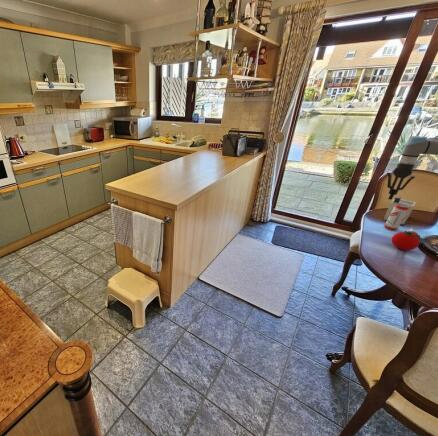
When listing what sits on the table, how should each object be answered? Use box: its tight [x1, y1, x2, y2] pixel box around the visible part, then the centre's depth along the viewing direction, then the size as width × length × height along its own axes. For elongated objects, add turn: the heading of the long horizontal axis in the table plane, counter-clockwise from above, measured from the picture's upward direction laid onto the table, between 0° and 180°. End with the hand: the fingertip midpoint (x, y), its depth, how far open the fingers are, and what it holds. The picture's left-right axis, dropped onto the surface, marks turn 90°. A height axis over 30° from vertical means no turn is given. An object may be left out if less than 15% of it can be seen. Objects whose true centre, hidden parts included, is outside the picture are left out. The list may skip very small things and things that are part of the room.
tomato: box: [390, 229, 419, 251], centre depth 131 cm, size 10×10×10 cm
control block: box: [417, 234, 424, 247], centre depth 139 cm, size 10×8×4 cm
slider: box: [393, 196, 402, 203], centre depth 157 cm, size 2×2×3 cm
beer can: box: [384, 204, 408, 231], centre depth 149 cm, size 6×6×16 cm
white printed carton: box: [382, 198, 417, 226], centre depth 161 cm, size 10×12×13 cm
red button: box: [407, 230, 419, 236], centre depth 138 cm, size 4×4×2 cm
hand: (390, 198), depth 160 cm, fingers closed
